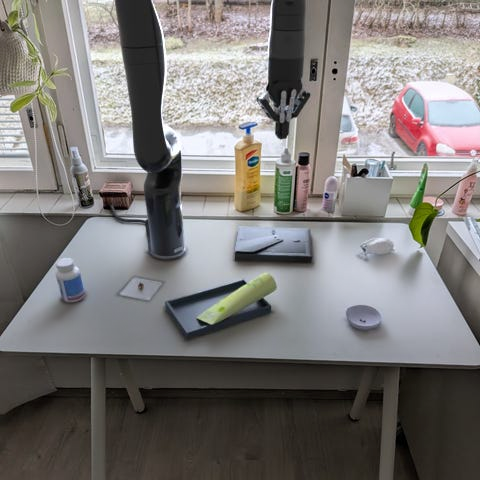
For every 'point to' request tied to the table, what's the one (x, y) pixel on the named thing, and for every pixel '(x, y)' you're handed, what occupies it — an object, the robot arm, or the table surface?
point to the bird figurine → (376, 246)
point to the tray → (198, 302)
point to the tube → (240, 299)
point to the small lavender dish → (363, 317)
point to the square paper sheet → (141, 288)
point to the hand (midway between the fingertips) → (281, 138)
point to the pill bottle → (69, 280)
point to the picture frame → (273, 244)
